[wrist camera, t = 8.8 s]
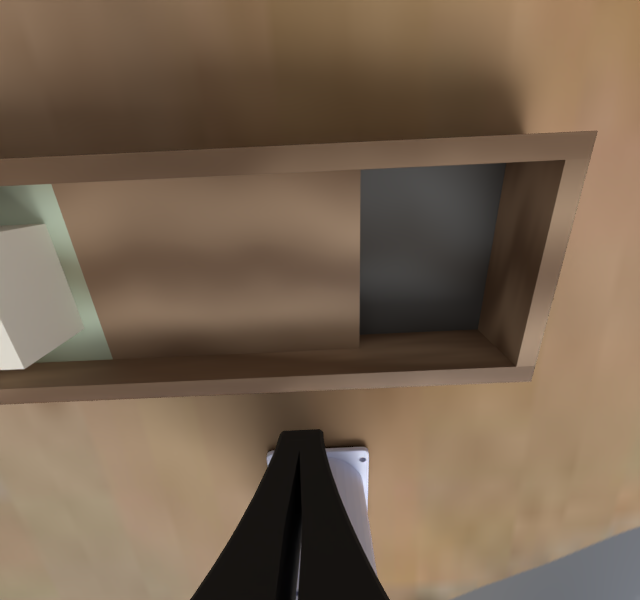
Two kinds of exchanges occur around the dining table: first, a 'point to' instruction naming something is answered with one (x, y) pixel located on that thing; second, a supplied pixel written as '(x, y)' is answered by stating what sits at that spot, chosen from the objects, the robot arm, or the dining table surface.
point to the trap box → (300, 264)
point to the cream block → (32, 297)
